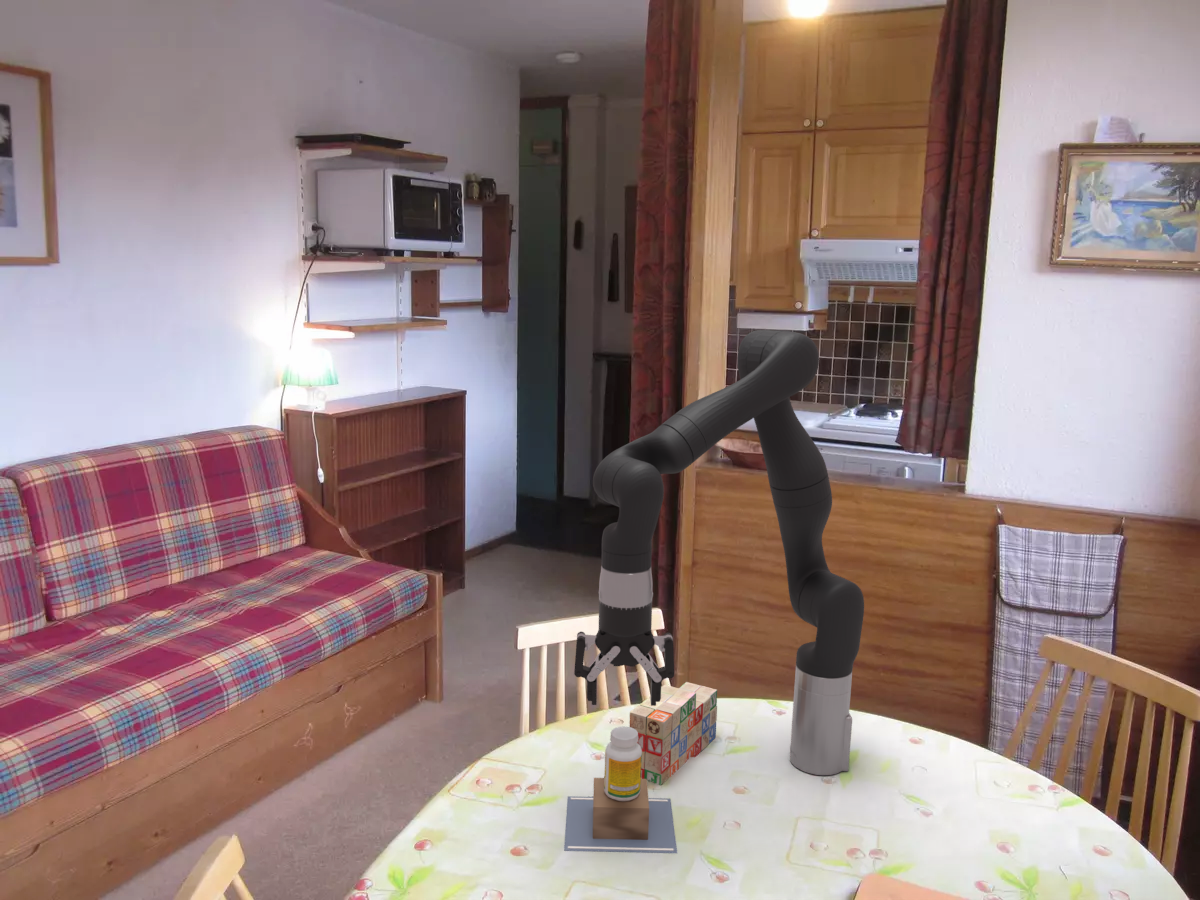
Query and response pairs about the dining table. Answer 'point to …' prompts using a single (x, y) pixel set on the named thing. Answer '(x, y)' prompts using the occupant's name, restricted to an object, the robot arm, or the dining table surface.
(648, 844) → the blueprint board
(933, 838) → the dining table surface
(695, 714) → the stack of blocks
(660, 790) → the dining table surface
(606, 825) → the walnut plinth
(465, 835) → the dining table surface
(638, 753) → the supplement bottle
